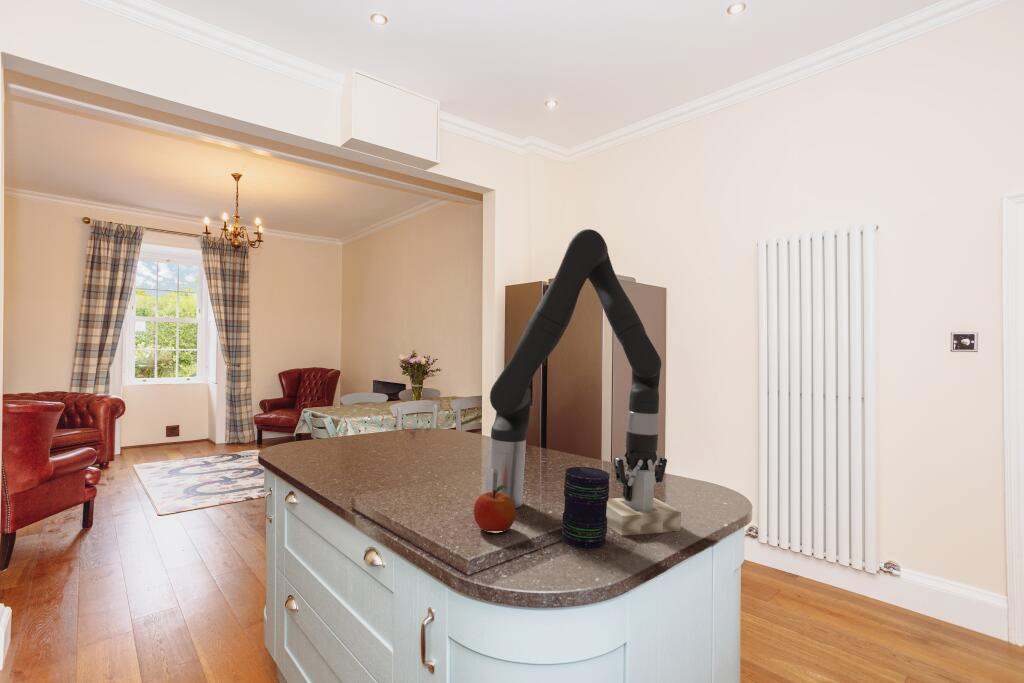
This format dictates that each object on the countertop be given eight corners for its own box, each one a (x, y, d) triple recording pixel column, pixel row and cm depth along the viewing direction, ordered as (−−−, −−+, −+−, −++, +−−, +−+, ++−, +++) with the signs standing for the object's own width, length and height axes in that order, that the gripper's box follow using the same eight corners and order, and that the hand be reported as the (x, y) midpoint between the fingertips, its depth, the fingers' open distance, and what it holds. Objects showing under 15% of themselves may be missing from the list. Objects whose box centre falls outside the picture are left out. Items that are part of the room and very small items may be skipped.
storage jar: (615, 545, 109) (619, 476, 109) (581, 553, 104) (585, 480, 104) (585, 529, 118) (589, 465, 118) (551, 536, 112) (555, 469, 112)
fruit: (466, 525, 116) (468, 481, 116) (504, 521, 120) (506, 479, 120) (481, 540, 107) (483, 493, 107) (521, 536, 111) (524, 490, 111)
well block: (621, 535, 115) (622, 515, 115) (596, 517, 126) (597, 499, 126) (680, 531, 120) (681, 512, 120) (651, 513, 131) (652, 496, 131)
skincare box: (653, 521, 122) (657, 471, 122) (641, 524, 119) (645, 472, 119) (632, 513, 127) (636, 465, 127) (621, 515, 124) (625, 466, 124)
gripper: (624, 433, 117) (620, 506, 117) (676, 433, 122) (672, 503, 122) (608, 427, 124) (604, 496, 124) (658, 427, 129) (654, 494, 129)
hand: (638, 499), depth 123 cm, fingers closed on skincare box, 5 cm apart
